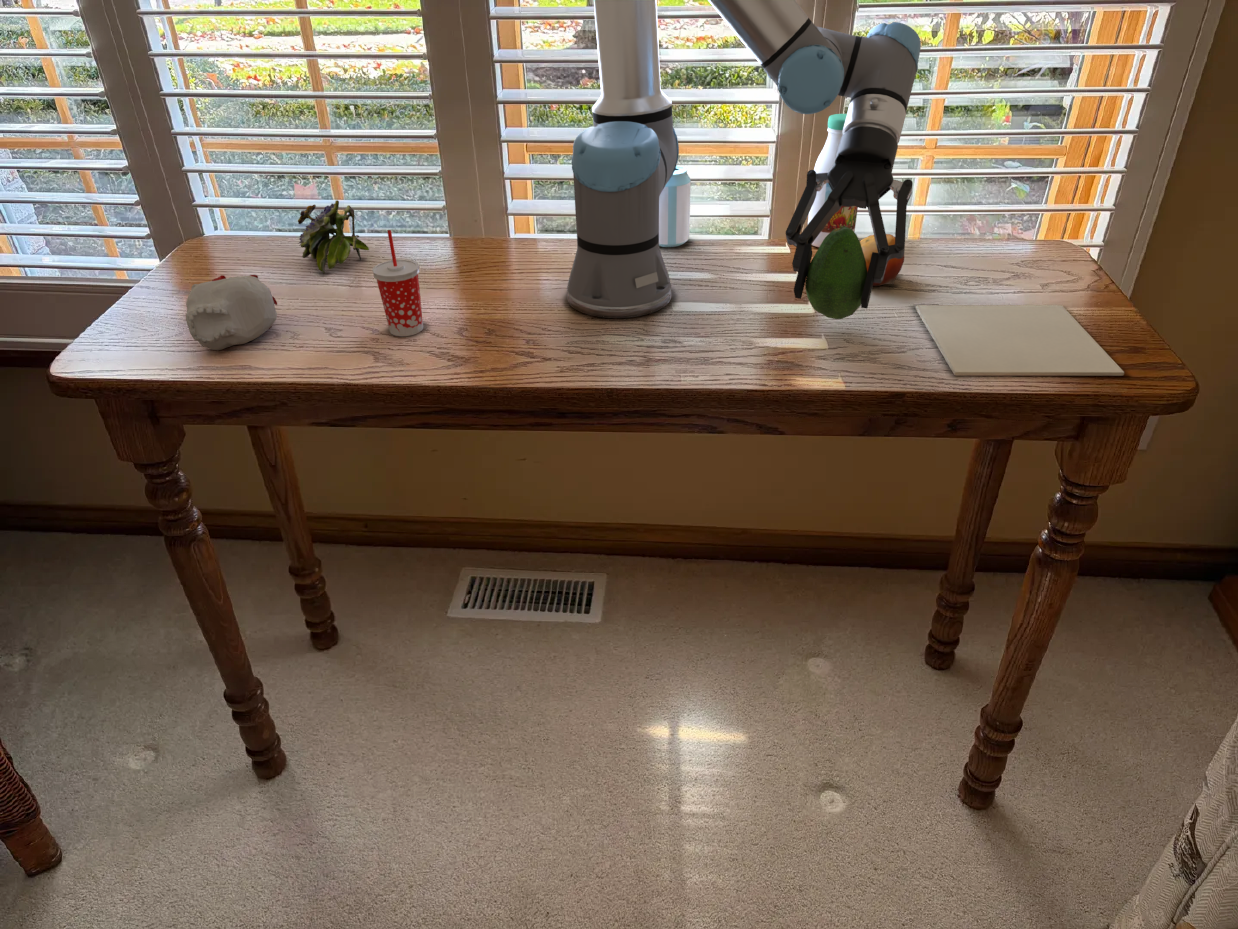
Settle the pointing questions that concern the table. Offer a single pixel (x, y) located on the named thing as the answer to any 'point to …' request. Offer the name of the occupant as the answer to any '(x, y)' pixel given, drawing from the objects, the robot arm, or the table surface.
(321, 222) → the passion flower
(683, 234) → the can
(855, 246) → the avocado
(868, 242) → the fruit
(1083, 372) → the corner mat
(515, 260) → the table surface
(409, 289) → the beverage cup
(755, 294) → the table surface
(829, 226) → the milk bottle
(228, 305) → the grey rounded lump
